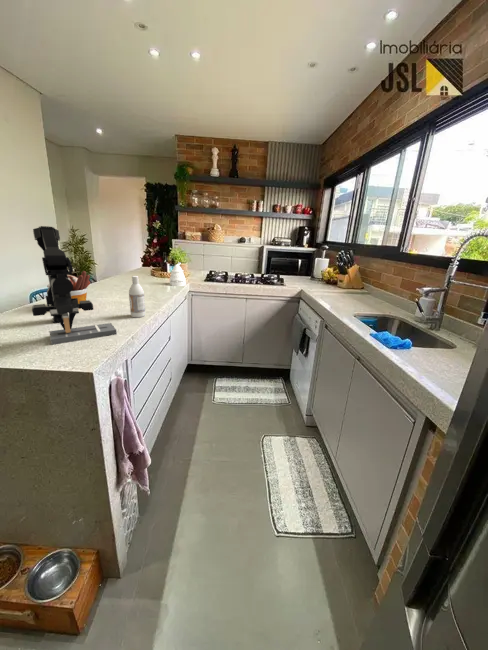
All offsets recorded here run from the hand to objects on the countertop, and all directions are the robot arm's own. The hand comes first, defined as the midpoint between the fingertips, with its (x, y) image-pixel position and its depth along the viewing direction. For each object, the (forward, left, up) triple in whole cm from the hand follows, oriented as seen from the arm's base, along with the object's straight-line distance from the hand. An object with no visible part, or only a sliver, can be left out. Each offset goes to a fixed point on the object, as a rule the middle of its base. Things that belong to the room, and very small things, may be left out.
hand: (67, 329), depth 102 cm
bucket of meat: (-47, +6, -4) cm, 48 cm away
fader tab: (0, 0, -1) cm, 1 cm away
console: (0, +5, -4) cm, 6 cm away
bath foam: (-17, +31, -4) cm, 36 cm away
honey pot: (-90, +84, -4) cm, 123 cm away
